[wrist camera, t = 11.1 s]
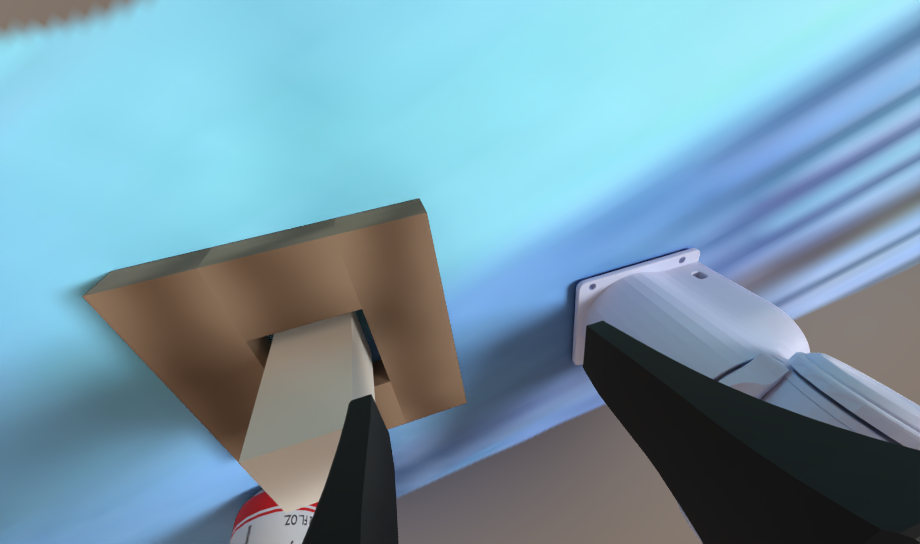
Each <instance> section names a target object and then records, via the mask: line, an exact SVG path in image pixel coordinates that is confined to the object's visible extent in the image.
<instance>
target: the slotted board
mask: <svg viewBox="0 0 920 544" xmlns="http://www.w3.org/2000/svg"><path fill="white" fill-rule="evenodd" d="M82 297H83V298H84V299H85V300H86V301H87V302H88V303H89V304H90V305H91V306H92V307H93V308H94V309H95V310H96V311H97V313H98V314H99V315H100V316H101V317H102V318H103V319H104V320H105V321H106V322H107V323H108V324H109V325H110V326H111V327H112V328H113V330H114V331H115V332H116V333H117V334H118V335H119V336H120V337H121V338H122V339H123V340H124V341H125V342H126V343H127V344H128V345H129V346H130V348H131V349H132V350H133V351H134V352H135V353H136V354H137V355H138V356H139V357H140V358H141V359H142V360H143V361H144V362H145V363H146V365H147V366H148V367H149V368H150V369H151V370H152V371H153V372H154V373H155V374H156V375H157V376H158V377H159V378H160V379H161V380H162V381H163V383H164V384H165V385H166V386H167V387H168V388H169V389H170V390H171V391H172V392H173V393H174V394H175V395H176V396H177V397H178V398H179V400H180V401H181V402H182V403H183V404H184V405H185V406H186V407H187V408H188V409H189V410H190V411H191V412H192V413H193V414H194V415H195V416H196V418H197V419H198V420H199V421H200V422H201V423H202V424H203V425H204V426H205V427H206V428H207V429H208V430H209V431H210V432H211V433H212V435H213V436H214V437H215V438H216V439H217V440H218V441H219V442H220V443H221V444H222V445H223V446H224V447H225V448H226V449H227V450H228V452H229V453H230V454H231V455H232V456H233V457H234V458H235V459H236V460H237V461H238V462H239V459H240V455H241V452H242V448H243V445H244V441H245V437H246V434H247V430H248V427H249V423H250V419H251V416H252V412H253V409H254V405H255V401H256V398H257V394H258V391H259V387H260V383H261V380H262V376H263V373H264V369H265V365H266V362H267V358H268V355H269V351H270V347H271V344H272V343H271V341H270V340H269V338H268V336H267V335H271V334H275V333H278V332H282V331H285V330H289V329H293V328H296V327H300V326H303V325H307V324H310V323H314V322H318V321H321V320H325V319H328V318H332V317H336V316H339V315H343V314H346V313H350V312H353V311H357V310H361V309H362V310H363V313H364V315H365V318H366V320H367V323H368V325H369V328H370V331H371V333H372V336H373V338H374V341H375V344H376V346H377V349H378V351H379V354H380V356H381V359H382V360H378V361H375V362H372V366H373V379H374V392H375V403H376V405H377V408H378V410H379V412H380V414H381V416H382V419H383V421H384V423H385V425H386V428H387V429H390V428H393V427H396V426H399V425H402V424H405V423H408V422H411V421H414V420H417V419H420V418H423V417H426V416H429V415H432V414H435V413H438V412H441V411H444V410H447V409H450V408H453V407H456V406H459V405H462V404H465V403H467V401H466V397H465V392H464V387H463V382H462V378H461V373H460V368H459V363H458V359H457V354H456V349H455V344H454V340H453V335H452V330H451V325H450V321H449V316H448V311H447V306H446V302H445V297H444V292H443V287H442V283H441V278H440V273H439V268H438V264H437V259H436V254H435V249H434V245H433V240H432V235H431V230H430V226H429V221H428V216H427V212H426V210H425V208H424V206H423V204H422V203H421V201H420V199H415V200H411V201H406V202H402V203H398V204H394V205H389V206H385V207H381V208H377V209H372V210H368V211H364V212H360V213H355V214H351V215H347V216H343V217H339V218H334V219H330V220H326V221H322V222H317V223H313V224H309V225H305V226H300V227H296V228H292V229H288V230H284V231H279V232H275V233H271V234H267V235H262V236H258V237H254V238H250V239H245V240H241V241H237V242H233V243H228V244H224V245H220V246H216V247H212V248H207V249H203V250H199V251H195V252H190V253H186V254H182V255H178V256H173V257H169V258H165V259H161V260H157V261H152V262H148V263H144V264H140V265H135V266H131V267H127V268H123V269H118V270H114V271H111V272H110V273H109V274H108V275H106V276H105V277H104V278H103V279H102V280H101V281H99V282H98V283H97V284H96V285H95V286H94V287H93V288H91V289H90V290H89V291H88V292H87V293H86V294H84V295H83V296H82Z"/></svg>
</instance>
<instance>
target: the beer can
mask: <svg viewBox="0 0 920 544" xmlns="http://www.w3.org/2000/svg"><path fill="white" fill-rule="evenodd" d="M317 504H318V502H316V503H314V504H311V505H308V506H305V507H302V508H300V509H297V510H294V511H291V512H288V513H285V512H284V511H283V510H282V509H281V508H280V507H279V505H278V504H277V503H276V502H275V501H274V500H273V499H272V498H271V497H270V496H269V495H268V494H267V493H266V492H265V491H264V490H263V489H261V490H260V491H259V492H257V493H256V494H255V495H254V496H253V497H252V498H250V499H249V500H248V501H247V502H245V503H244V504H243V506H242V508H241V509H240V511H239V513H238V514H237V517H236V520H235V524H234V528H233V532H232V536H231V540H230V544H302V542H303V540H304V537H305V535H306V532H307V530H308V528H309V525H310V523H311V520H312V518H313V515H314V512H315V510H316V507H317Z"/></svg>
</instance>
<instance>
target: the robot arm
mask: <svg viewBox="0 0 920 544" xmlns="http://www.w3.org/2000/svg"><path fill="white" fill-rule="evenodd" d="M699 256H700V251H699V250H697V249H695V248H691V249H687V250H684V251H681V252H677V253H674V254H671V255H667V256H664V257H660V258H657V259H654V260H650V261H647V262H643V263H640V264H637V265H633V266H630V267H626V268H623V269H620V270H616V271H613V272H609V273H606V274H603V275H599V276H596V277H593V278H589V279H586V280H583V281H581V282H579V283H578V285H577V287H576V299H575V318H574V336H573V354H572V361H573V363H574V364H575V365H582V364H583V368H584V370H585V372H586V374H587V375H588V377H589V379H590V380H591V382H592V384H593V385H594V387H595V389H596V390H597V392H598V393H599V395H600V396H601V398H602V399H603V400H604V402H605V403H606V404H607V405H608V407H609V408H610V409H611V411H612V412H613V413H614V415H615V416H616V417H617V418H618V419H619V421H620V422H621V423H622V425H623V426H624V427H625V429H626V430H627V431H628V432H629V434H630V435H631V436H632V438H633V439H634V440H635V441H636V443H637V444H638V445H639V447H640V448H641V449H642V450H643V452H644V453H645V454H646V456H647V457H648V458H649V460H650V461H651V462H652V464H653V465H654V466H655V468H656V469H657V471H658V472H659V474H660V475H661V477H662V478H663V480H664V481H665V483H666V485H667V486H668V488H669V489H670V491H671V492H672V494H673V496H674V497H675V499H676V500H677V502H678V505H679V508H680V510H681V512H682V514H683V516H684V518H685V519H686V521H687V523H688V524H689V526H690V528H691V529H692V531H693V532H694V533H695V535H696V536H697V538H698V539H699V540H700V542H701V543H702V544H920V406H919V405H917V404H915V403H914V402H912V401H910V400H909V399H907V398H905V397H904V396H902V395H900V394H898V393H897V392H895V391H893V390H892V389H890V388H888V387H886V386H885V385H883V384H881V383H879V382H878V381H876V380H874V379H872V378H871V377H868V376H867V375H865V374H863V373H862V372H860V371H858V370H856V369H854V368H852V367H850V366H849V365H847V364H845V363H843V362H841V361H839V360H837V359H835V358H833V357H831V356H828V355H826V354H823V353H810V350H809V345H808V342H807V340H806V338H805V336H804V334H803V333H802V331H801V330H800V328H799V327H798V326H797V324H796V323H795V322H794V321H793V320H792V319H791V318H790V317H789V316H788V315H787V314H786V313H785V312H783V311H782V310H781V309H780V308H778V307H777V306H775V305H773V304H772V303H770V302H768V301H766V300H765V299H763V298H761V297H759V296H758V295H756V294H754V293H752V292H750V291H749V290H747V289H745V288H743V287H742V286H740V285H738V284H736V283H735V282H733V281H731V280H729V279H727V278H726V277H724V276H722V275H720V274H719V273H717V272H715V271H713V270H711V269H710V268H708V267H706V266H704V265H703V264H701V263H699V262H698V260H699ZM591 284H592V285H591ZM590 285H591V286H590ZM589 286H590V287H589ZM302 544H398V528H397V509H396V489H395V472H394V462H393V456H392V449H391V443H390V437H389V432H388V430H387V428H386V425H385V423H384V421H383V419H382V416H381V414H380V412H379V410H378V408H377V405H376V403H375V401H374V399H373V396H372V394H370V395H367V396H363V397H360V398H357V399H354V400H351V401H350V403H349V405H348V409H347V414H346V418H345V422H344V426H343V429H342V433H341V436H340V440H339V443H338V447H337V450H336V453H335V456H334V459H333V462H332V465H331V468H330V471H329V474H328V477H327V480H326V483H325V486H324V489H323V491H322V494H321V497H320V499H319V502H318V504H317V507H316V510H315V512H314V515H313V518H312V520H311V523H310V525H309V528H308V530H307V532H306V535H305V537H304V540H303V542H302Z"/></svg>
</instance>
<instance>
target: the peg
mask: <svg viewBox="0 0 920 544" xmlns="http://www.w3.org/2000/svg"><path fill="white" fill-rule="evenodd" d="M370 394H372V396H373V399H374V401H375V392H374V379H373V366H372V353H371V349H370V347H369V344H368V342H367V339H366V337H365V334H364V332H363V329H362V327H361V324H360V322H359V319H358V317H357V314H356V312H355V311H353V312H350V313H346V314H343V315H339V316H336V317H332V318H328V319H325V320H321V321H318V322H314V323H310V324H307V325H303V326H300V327H296V328H293V329H289V330H285V331H282V332H278V333H275V334H274V337H273V340H272V344H271V347H270V351H269V355H268V358H267V362H266V365H265V369H264V373H263V376H262V380H261V383H260V387H259V391H258V394H257V398H256V401H255V405H254V409H253V412H252V416H251V419H250V423H249V427H248V430H247V434H246V437H245V441H244V445H243V448H242V452H241V455H240V459H239V464H240V465H241V466H242V467H243V468H244V469H245V470H246V471H247V473H248V474H249V475H250V476H251V477H252V478H253V479H254V480H255V481H256V482H257V483H258V484H259V485H260V486H261V487H262V488H263V490H264V491H265V492H266V493H267V494H268V495H269V496H270V497H271V498H272V499H273V500H274V501H275V502H276V503H277V504H278V505H279V507H280V508H281V509H282V510H283V511H284V512H285V513H288V512H291V511H294V510H297V509H300V508H302V507H305V506H308V505H311V504H314V503H316V502H319V499H320V497H321V494H322V491H323V489H324V486H325V483H326V480H327V477H328V474H329V471H330V468H331V465H332V462H333V459H334V456H335V453H336V450H337V447H338V443H339V440H340V436H341V433H342V429H343V426H344V422H345V418H346V414H347V409H348V405H349V403H350V401H351V400H354V399H357V398H360V397H363V396H367V395H370Z"/></svg>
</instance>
